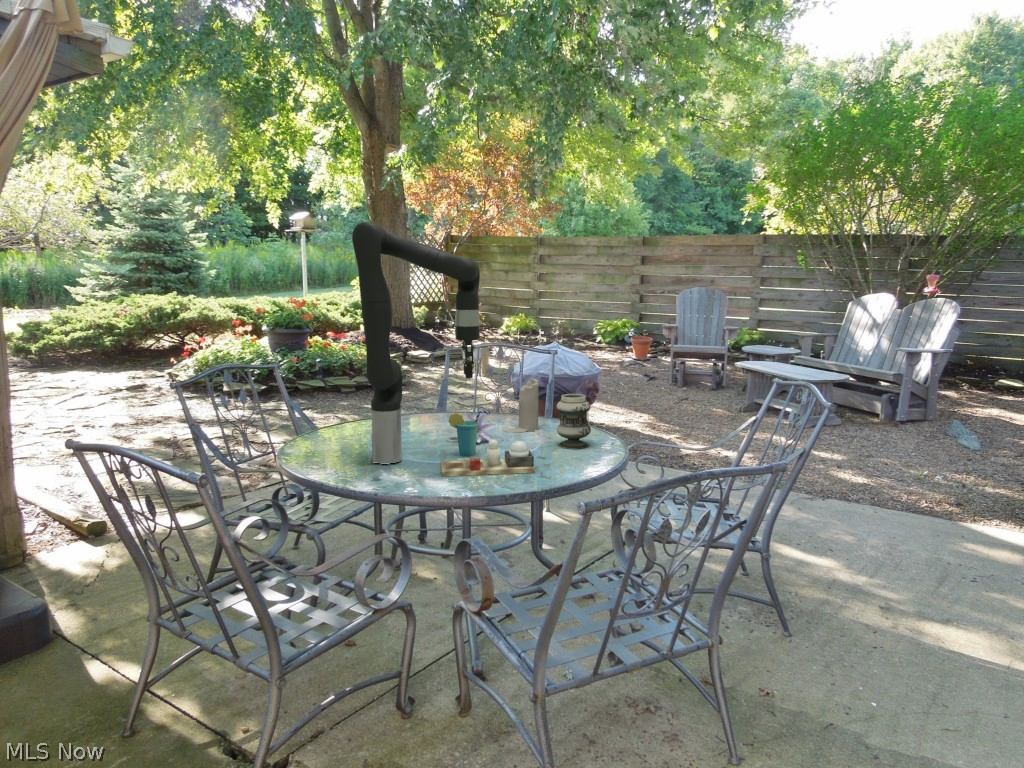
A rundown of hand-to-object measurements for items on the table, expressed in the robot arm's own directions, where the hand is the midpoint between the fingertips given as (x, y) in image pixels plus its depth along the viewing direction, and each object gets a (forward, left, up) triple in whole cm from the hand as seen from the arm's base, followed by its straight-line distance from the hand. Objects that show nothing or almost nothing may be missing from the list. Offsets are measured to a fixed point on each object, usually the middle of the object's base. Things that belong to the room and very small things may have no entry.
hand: (468, 376), depth 208 cm
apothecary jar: (+38, +18, -28) cm, 51 cm away
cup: (+1, +11, -28) cm, 30 cm away
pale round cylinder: (+15, -7, -25) cm, 30 cm away
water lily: (+4, +28, -28) cm, 40 cm away
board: (+5, -8, -28) cm, 30 cm away
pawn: (+7, -8, -26) cm, 28 cm away
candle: (+23, +44, -28) cm, 57 cm away
